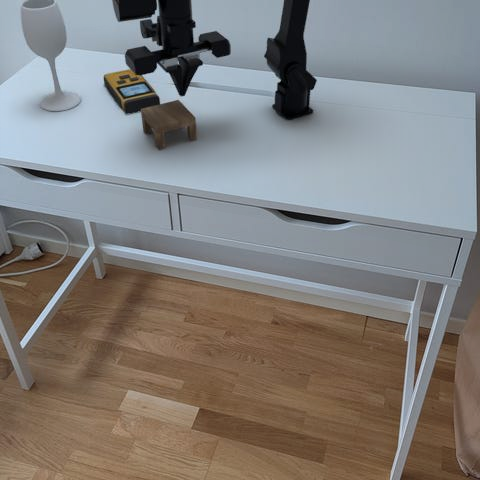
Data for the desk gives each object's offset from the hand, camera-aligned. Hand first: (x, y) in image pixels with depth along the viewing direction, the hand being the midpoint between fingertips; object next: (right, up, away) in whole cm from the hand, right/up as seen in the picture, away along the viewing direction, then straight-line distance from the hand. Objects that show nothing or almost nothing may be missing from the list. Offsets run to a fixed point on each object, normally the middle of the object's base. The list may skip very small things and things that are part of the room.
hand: (181, 95), depth 112 cm
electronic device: (-13, +4, +17) cm, 22 cm away
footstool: (+1, -4, +4) cm, 5 cm away
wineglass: (-28, +2, +15) cm, 31 cm away
